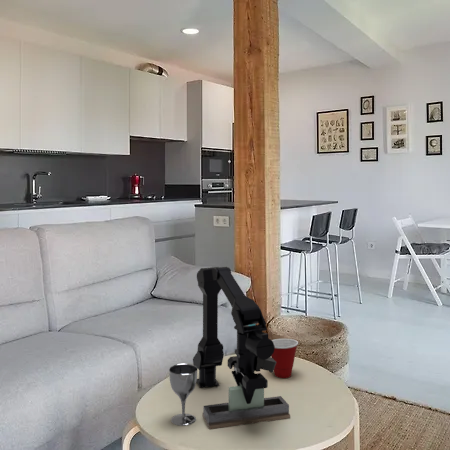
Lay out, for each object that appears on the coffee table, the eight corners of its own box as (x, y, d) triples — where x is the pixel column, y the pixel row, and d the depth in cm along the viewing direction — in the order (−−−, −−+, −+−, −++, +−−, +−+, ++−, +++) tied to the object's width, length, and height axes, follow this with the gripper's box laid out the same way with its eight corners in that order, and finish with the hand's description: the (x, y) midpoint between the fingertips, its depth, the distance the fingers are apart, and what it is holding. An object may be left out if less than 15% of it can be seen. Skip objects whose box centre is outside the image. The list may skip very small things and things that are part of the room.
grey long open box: (202, 415, 146) (202, 404, 146) (279, 405, 153) (279, 394, 153) (209, 429, 139) (209, 417, 138) (290, 418, 145) (290, 406, 145)
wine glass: (186, 429, 139) (186, 376, 137) (163, 421, 143) (163, 370, 142) (202, 417, 146) (202, 367, 144) (180, 410, 150) (180, 361, 148)
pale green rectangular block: (228, 413, 146) (228, 387, 145) (261, 409, 148) (261, 383, 148) (230, 417, 143) (230, 390, 143) (263, 413, 146) (264, 386, 146)
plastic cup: (276, 366, 184) (276, 334, 183) (303, 373, 178) (303, 340, 177) (260, 376, 176) (261, 342, 174) (288, 383, 169) (288, 349, 168)
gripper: (285, 356, 137) (284, 411, 139) (261, 335, 155) (261, 384, 157) (247, 360, 134) (246, 416, 136) (227, 338, 152) (226, 388, 154)
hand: (246, 400), depth 145 cm, fingers open, 4 cm apart
